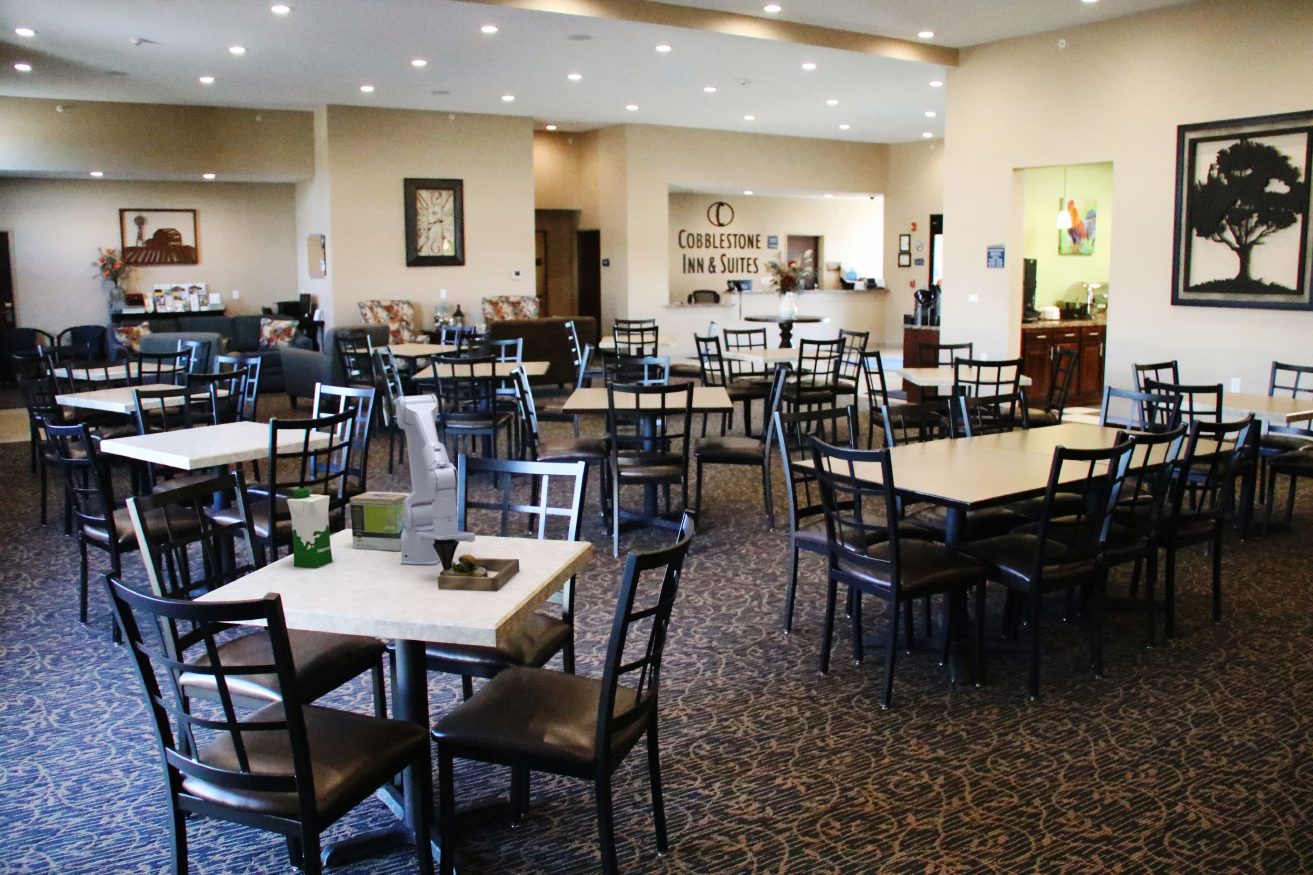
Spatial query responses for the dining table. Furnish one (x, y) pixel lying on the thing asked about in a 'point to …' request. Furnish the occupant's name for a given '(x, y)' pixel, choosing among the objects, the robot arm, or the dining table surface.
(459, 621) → the dining table surface
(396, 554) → the dining table surface
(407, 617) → the dining table surface
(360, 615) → the dining table surface
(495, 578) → the open wooden frame
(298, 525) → the milk carton
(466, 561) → the burger
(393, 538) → the tea box
